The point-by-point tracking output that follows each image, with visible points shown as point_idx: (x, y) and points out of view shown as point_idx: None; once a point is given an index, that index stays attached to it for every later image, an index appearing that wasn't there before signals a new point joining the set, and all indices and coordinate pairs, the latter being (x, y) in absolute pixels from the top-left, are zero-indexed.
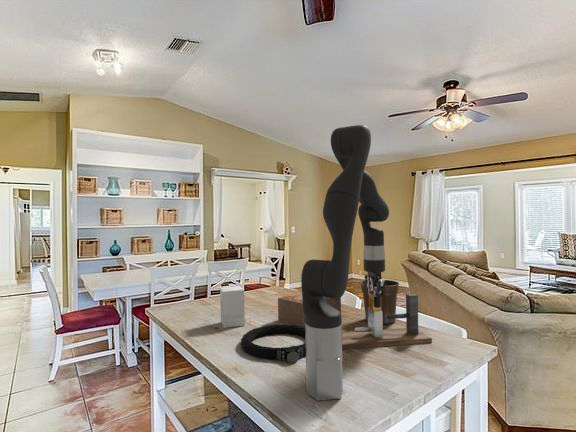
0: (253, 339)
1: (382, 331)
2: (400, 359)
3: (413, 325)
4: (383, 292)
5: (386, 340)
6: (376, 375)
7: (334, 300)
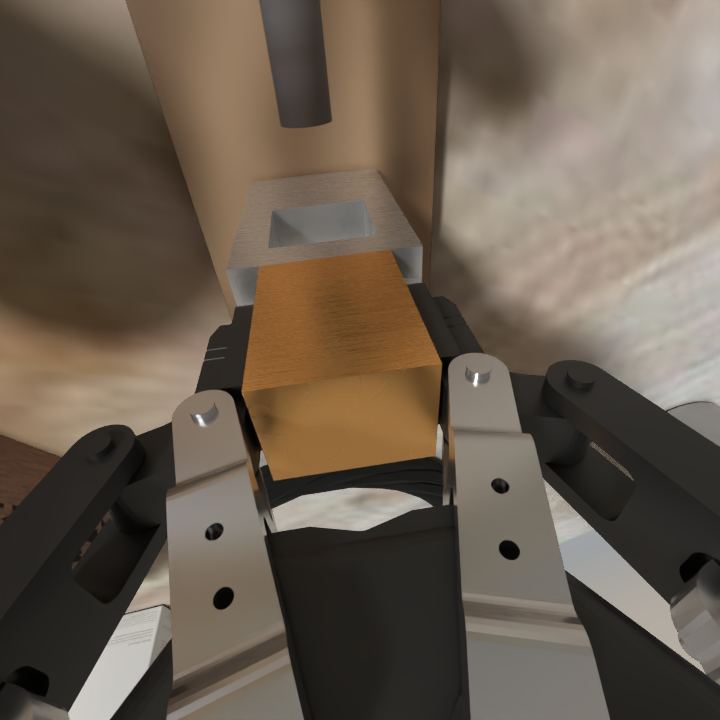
0: None
1: (382, 182)
2: (629, 140)
3: None
4: (650, 415)
5: (417, 152)
6: (689, 300)
7: None
